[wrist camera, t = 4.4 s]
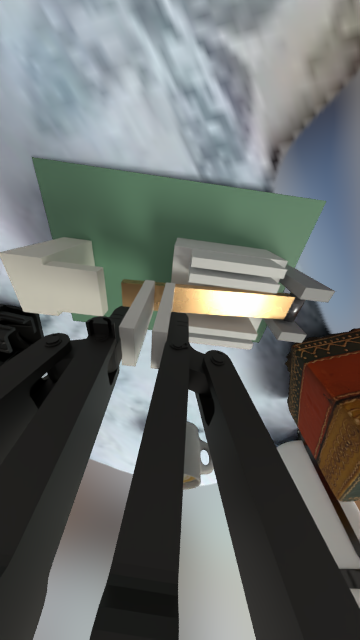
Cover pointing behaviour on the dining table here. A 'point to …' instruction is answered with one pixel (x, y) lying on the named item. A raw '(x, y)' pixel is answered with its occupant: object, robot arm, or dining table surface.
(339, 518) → the coffee press
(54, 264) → the cream white stepped block
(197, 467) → the coffee mug
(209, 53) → the dining table surface
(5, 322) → the end cap
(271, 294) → the golden metal bar
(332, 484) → the decorative box
